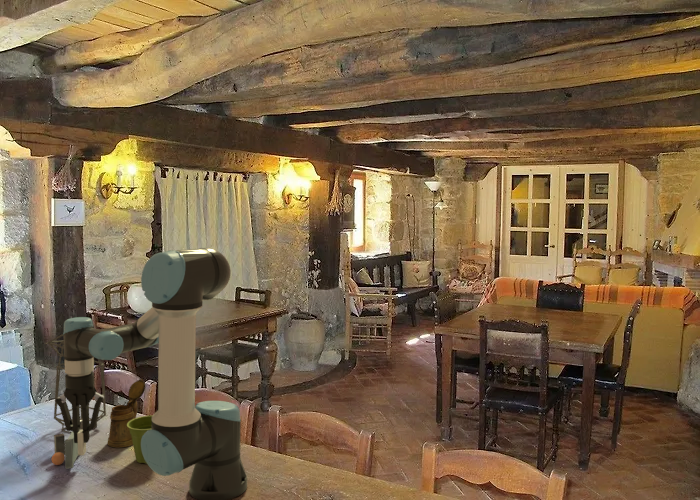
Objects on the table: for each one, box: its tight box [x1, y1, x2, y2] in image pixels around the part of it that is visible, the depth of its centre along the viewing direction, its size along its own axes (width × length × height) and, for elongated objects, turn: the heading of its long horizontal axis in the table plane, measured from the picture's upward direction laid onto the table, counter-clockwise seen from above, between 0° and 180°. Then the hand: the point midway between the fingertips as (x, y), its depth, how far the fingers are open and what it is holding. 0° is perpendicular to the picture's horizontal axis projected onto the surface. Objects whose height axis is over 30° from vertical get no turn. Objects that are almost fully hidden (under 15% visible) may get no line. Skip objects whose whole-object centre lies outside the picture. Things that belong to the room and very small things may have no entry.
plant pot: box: [127, 414, 154, 465], centre depth 180 cm, size 12×12×11 cm
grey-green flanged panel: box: [64, 431, 79, 470], centre depth 177 cm, size 11×2×8 cm, turn 12°
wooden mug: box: [107, 378, 146, 449], centre depth 194 cm, size 9×14×18 cm, turn 155°
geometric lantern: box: [45, 333, 107, 434], centre depth 202 cm, size 16×16×35 cm
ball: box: [51, 452, 65, 466], centre depth 176 cm, size 4×4×4 cm
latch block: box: [53, 433, 66, 456], centre depth 183 cm, size 2×2×6 cm
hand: (82, 453), depth 175 cm, fingers closed
